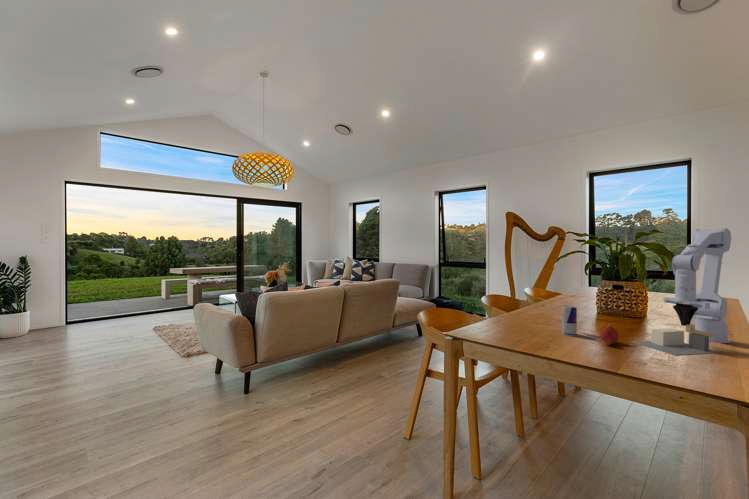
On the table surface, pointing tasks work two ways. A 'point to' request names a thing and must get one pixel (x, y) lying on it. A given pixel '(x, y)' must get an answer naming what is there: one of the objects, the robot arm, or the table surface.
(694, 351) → the slate board
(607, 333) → the onion
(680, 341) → the cover block
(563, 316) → the energy drink
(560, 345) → the table surface
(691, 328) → the brass bolt
